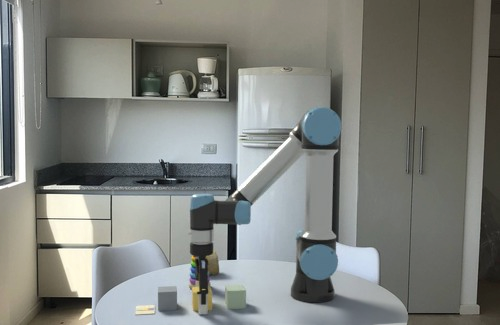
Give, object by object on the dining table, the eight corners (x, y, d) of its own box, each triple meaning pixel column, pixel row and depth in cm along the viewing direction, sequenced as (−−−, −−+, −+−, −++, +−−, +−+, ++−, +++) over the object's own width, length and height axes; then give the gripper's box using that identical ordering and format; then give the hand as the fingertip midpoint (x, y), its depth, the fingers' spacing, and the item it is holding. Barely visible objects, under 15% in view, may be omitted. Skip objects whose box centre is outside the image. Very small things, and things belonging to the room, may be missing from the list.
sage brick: (243, 302, 176) (243, 284, 176) (245, 308, 170) (246, 290, 170) (225, 303, 175) (225, 285, 175) (227, 309, 169) (227, 291, 169)
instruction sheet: (154, 305, 172) (154, 304, 172) (154, 313, 164) (154, 312, 164) (136, 306, 171) (136, 305, 171) (135, 314, 163) (135, 314, 163)
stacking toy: (199, 282, 198) (199, 233, 197) (215, 287, 193) (215, 236, 192) (184, 287, 192) (184, 236, 191) (199, 291, 187) (199, 239, 186)
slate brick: (176, 303, 174) (176, 285, 174) (177, 309, 168) (177, 291, 168) (158, 304, 173) (157, 286, 173) (158, 310, 167) (157, 292, 167)
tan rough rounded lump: (228, 259, 206) (205, 250, 204) (217, 283, 207) (194, 273, 204) (225, 252, 215) (203, 243, 213) (215, 274, 216) (192, 265, 214)
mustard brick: (210, 304, 174) (210, 286, 174) (212, 310, 168) (212, 291, 168) (191, 305, 173) (191, 287, 173) (193, 311, 167) (193, 292, 167)
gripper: (187, 234, 181) (187, 295, 182) (192, 251, 157) (192, 321, 158) (209, 234, 182) (209, 294, 184) (217, 250, 158) (217, 319, 159)
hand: (201, 306), depth 171 cm, fingers open, 13 cm apart
